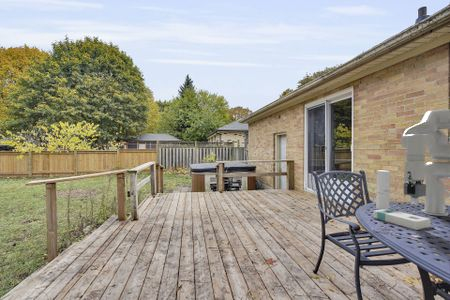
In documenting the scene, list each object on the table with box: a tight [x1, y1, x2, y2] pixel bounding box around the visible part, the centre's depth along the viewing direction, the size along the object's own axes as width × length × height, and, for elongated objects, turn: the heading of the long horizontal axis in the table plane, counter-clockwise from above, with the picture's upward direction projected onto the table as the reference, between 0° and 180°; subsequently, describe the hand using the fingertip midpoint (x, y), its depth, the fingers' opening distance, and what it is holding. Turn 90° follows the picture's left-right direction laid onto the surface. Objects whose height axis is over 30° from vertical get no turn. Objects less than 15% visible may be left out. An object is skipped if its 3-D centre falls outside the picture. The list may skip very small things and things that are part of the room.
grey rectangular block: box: [403, 182, 426, 206], centre depth 127 cm, size 6×7×10 cm
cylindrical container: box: [375, 169, 391, 210], centre depth 160 cm, size 7×7×25 cm
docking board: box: [372, 208, 431, 231], centre depth 133 cm, size 22×12×4 cm, turn 25°
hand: (414, 193), depth 127 cm, fingers closed on grey rectangular block, 6 cm apart
